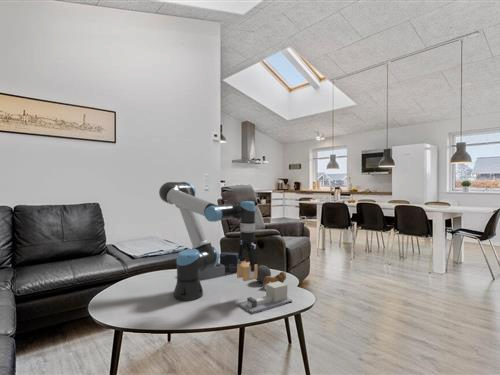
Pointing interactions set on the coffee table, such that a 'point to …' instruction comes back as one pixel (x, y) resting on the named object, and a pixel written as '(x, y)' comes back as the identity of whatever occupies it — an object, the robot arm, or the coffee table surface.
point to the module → (245, 271)
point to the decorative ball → (262, 273)
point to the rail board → (267, 305)
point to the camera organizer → (212, 272)
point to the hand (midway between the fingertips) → (247, 275)
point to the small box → (229, 261)
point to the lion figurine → (274, 279)
